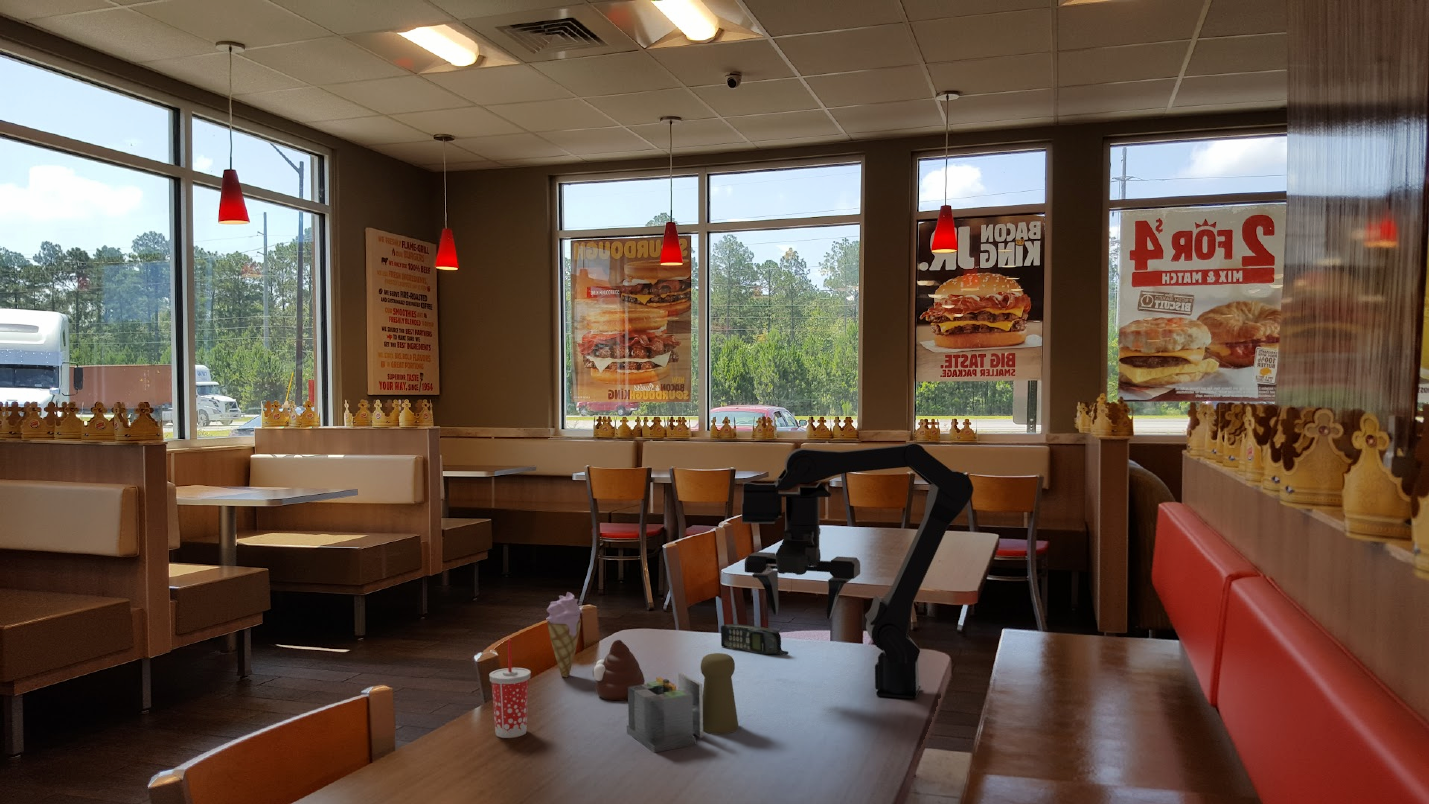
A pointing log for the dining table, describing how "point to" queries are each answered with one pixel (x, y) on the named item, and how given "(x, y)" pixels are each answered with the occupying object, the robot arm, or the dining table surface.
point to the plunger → (697, 699)
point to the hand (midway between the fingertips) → (802, 616)
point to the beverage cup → (510, 699)
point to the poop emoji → (617, 673)
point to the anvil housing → (660, 717)
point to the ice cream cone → (564, 630)
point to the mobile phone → (751, 639)
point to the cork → (718, 694)
